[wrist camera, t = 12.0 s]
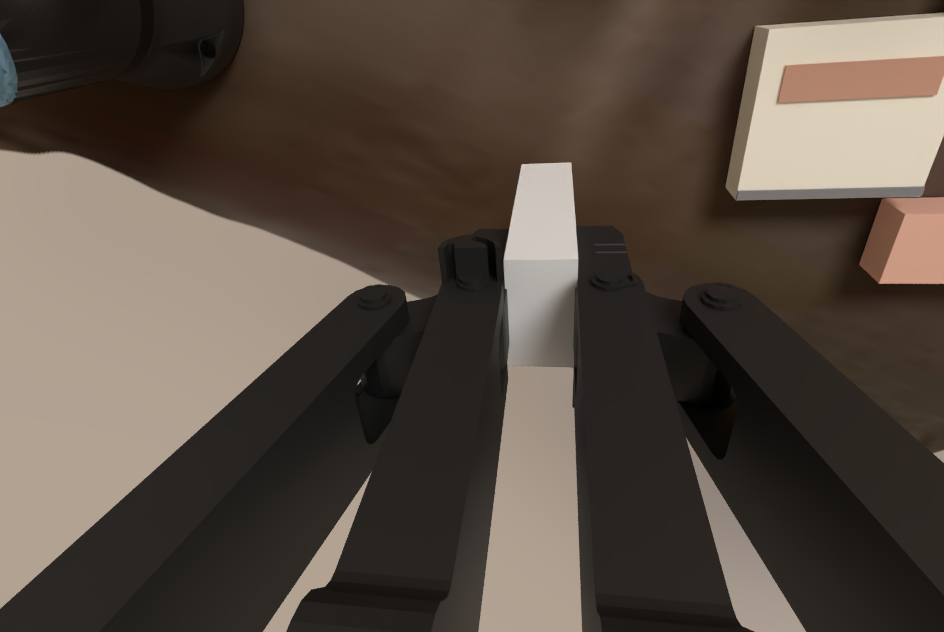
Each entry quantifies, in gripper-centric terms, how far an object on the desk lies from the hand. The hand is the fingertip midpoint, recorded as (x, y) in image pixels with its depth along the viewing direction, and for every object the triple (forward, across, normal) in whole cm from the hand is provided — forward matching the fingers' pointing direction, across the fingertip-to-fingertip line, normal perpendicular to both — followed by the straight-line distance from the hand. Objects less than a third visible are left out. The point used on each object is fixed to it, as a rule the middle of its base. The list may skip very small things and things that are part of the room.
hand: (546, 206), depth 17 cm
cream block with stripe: (+30, +21, -4) cm, 37 cm away
